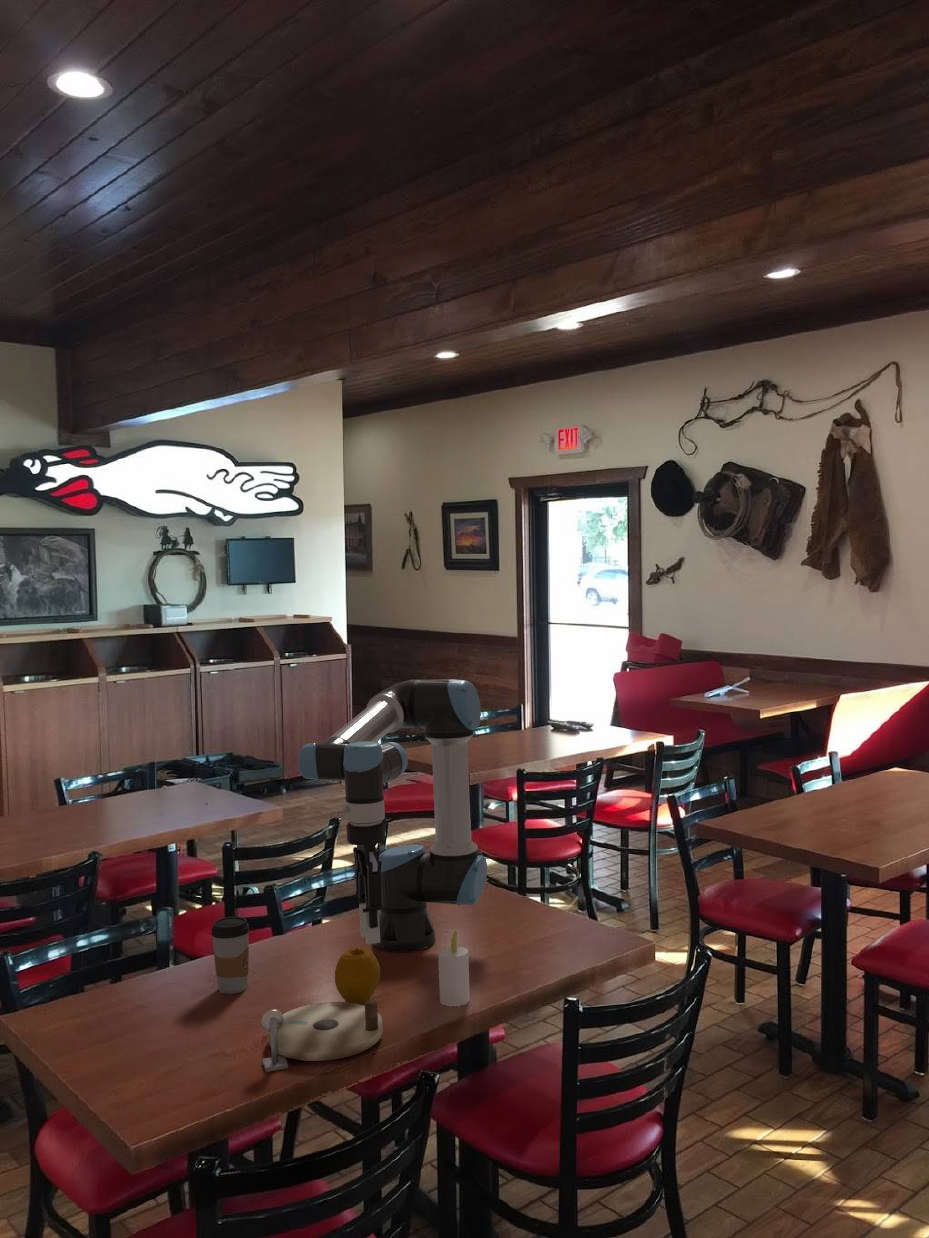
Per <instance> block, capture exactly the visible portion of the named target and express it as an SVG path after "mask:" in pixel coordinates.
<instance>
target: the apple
mask: <svg viewBox="0 0 929 1238" xmlns="http://www.w3.org/2000/svg"><path fill="white" fill-rule="evenodd" d="M379 963H380V962H379V961H378V959H377V957H376V956H375V955H374V953H373V951H370V950H369V949H367V948H365V947H363V946H359V947H358V946H357V947H351V948H348V949H347V950H346V951H344V952H343V953H342V954H341V956H340V957H339V959H338V960H337V963H336V967H335V971H334V984H335V987H336V990H337V991H338V993H339V995H340V996H341V998H342V999H343V1001H345V1002H349V1003H356V1004H361V1005H365V1002H366V1001H370V999H371V998H372V996H373V995H374V993H375V991H376V989H377V987H378V985H379V982H380V979H381V978H380V977H381V966H380V964H379Z"/></svg>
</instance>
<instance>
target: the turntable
mask: <svg viewBox="0 0 929 1238" xmlns="http://www.w3.org/2000/svg"><path fill="white" fill-rule="evenodd" d="M282 1015H283V1018H284V1022H283V1025H282V1027H281V1028H280V1029H279V1030H278V1031H277V1038H278V1055H279V1056H281V1055H282V1056H284V1057H285V1058H289V1059H293V1060H297V1061H307V1062H321V1061H332V1060H339V1059H343V1058H344V1059H345V1058H347V1057H351V1056H354V1055H357V1054H360V1053H362V1052H364V1051H366V1050H368V1049H370V1048H371V1047H374V1045H376V1043H378V1042H379V1041H380V1039H381V1038H382V1035H383V1033H384V1031H383V1029H384V1028H383V1018H382V1016H381V1014H380V1013H379V1011H378V1002H377V1001H376V1000H372V999H371V1000H370V999H369V1000H368V1001H366V1002H365V1003H364V1004H362V1005H361V1004H356V1003H349V1002H346V1001H345V1002H344V1001H329V1002H328V1001H327V1002H318V1003H312V1004H308V1005H303V1006H299V1007H297V1008H294V1009H291V1010H288V1011H286V1012H285V1013H282ZM268 1044H269V1047H270V1048H271V1032H268Z"/></svg>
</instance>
